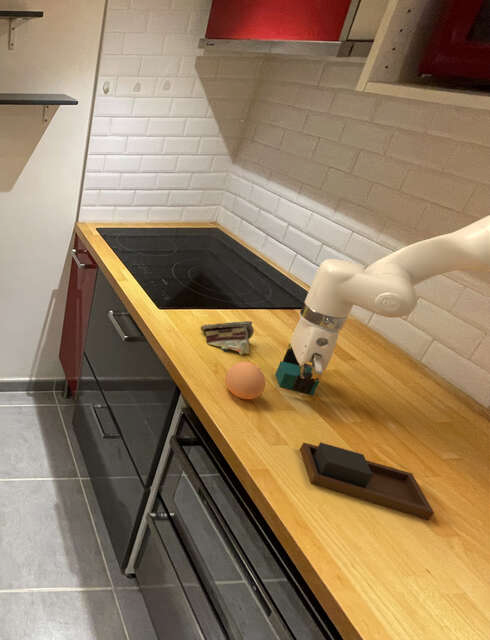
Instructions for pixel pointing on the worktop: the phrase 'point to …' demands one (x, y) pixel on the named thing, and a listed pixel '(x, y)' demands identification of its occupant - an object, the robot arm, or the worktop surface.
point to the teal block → (291, 375)
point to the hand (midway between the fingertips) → (295, 377)
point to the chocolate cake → (229, 335)
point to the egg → (245, 380)
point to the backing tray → (375, 486)
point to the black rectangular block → (342, 465)
